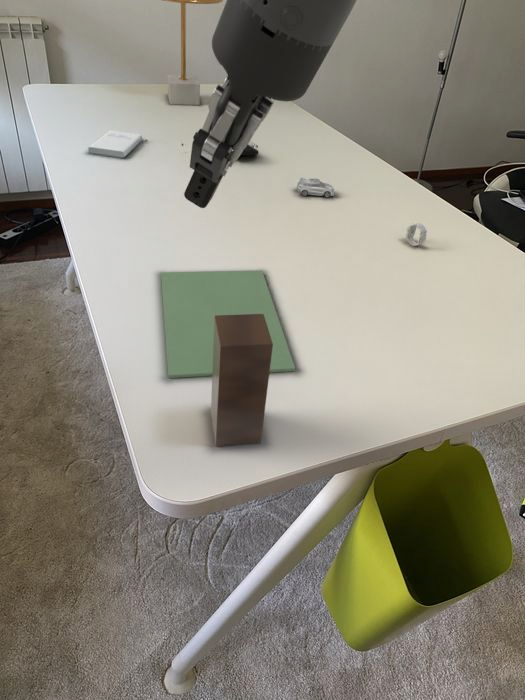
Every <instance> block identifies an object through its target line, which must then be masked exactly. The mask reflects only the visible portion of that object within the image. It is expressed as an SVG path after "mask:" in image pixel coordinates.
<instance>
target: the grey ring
mask: <svg viewBox="0 0 525 700" xmlns="http://www.w3.org/2000/svg"><path fill="white" fill-rule="evenodd" d="M417 229H418V230H419V236H418V240H417V242H416V241H415V239H414V236H415V235H416V231H417ZM427 232H428V231H427V229H426V226H425V225H424V224H422V223H420V222H418V223H417V222H416V223H412V224H410V225H408V226H407V228H406V232H405V238H406V239H407V242H408V243H409V245H411V246H413V247H415V246H416V247H417V246H420V245H422V244H424V242H425V241H426V239H427Z"/></svg>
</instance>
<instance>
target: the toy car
mask: <svg viewBox="0 0 525 700" xmlns="http://www.w3.org/2000/svg"><path fill="white" fill-rule="evenodd" d="M296 189H297V194H300V193H301V196H302V197H308V195H309V196H324V198H325V199H328V198H330V197H334V196H335V194H336V193H335V188H334V186H333V185H332V184H330V183H326V182H323V181H321V180H320V179H318V178H304V177H301V178H299V180H298V181H297V185H296Z"/></svg>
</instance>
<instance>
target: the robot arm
mask: <svg viewBox="0 0 525 700" xmlns="http://www.w3.org/2000/svg"><path fill="white" fill-rule="evenodd" d="M357 1H358V0H226V1H225V4H224V8H223V9H222V12H221V14H220V17H219V19H218V22H217V25H216V27H215V30H214V32H213V35H212V38H211V48H212V52H213V55H214V57H215V59H216V61H217V62H218V64H219V65H220V66H221V67H222V68H223V69H224V71H225V73H226V75H227V76H226V78H225V79H224V82H223V84H222V85H221V84H220V83H219V84H217V85H216V87H215V89H214V90H213V92H212V95H211V97H210V100H209V102H208V106H207V107H208V114H207V116H206V118H205V120H204V124H203V126H202V128H199V129H198V131H196V132H195V133H194V135H193V137H192V143H191V152H190V160H189V169H192V170H193V173H192V175H191V177H190V179H189V181H188V184H187V186H186V188H185V190H184V193H183V196H184V198H185V200H187V201H189V202H190V203H192V204H194V205H195V206H197V207H198V208H200V209H205V208H207V206H208V205H209V204H210V202H211V201H212V199H213V197H214V195H215V193H216V192H217V189H218V188H219V185H220V183H221V181H222V179H223V178H224V177H225V176H226V174H227V173H228V170H229V169H230V168H232V166H233V164H234V163H235V162H237V161H238V159H239V157H240V156H242V155H241V153H242V152H243V150H244V149H245V148H246V146H247V145H250V143H251V140H252V138H253V136H254V135H255V133H256V131H258V129H259V127H260V125H261V123H262V122H263V121H265V119H266V117H267V116H268V115H269V113H270V111H271V109H272V107H273V105H274V103H275V101H279V102H294V101H297V100H299V99H301V98H303V97H304V95H305V94H306V93H307V91H308V89H309V88H310V86H311V84H312V82H313V80H314V79H315V76H316V75H317V73H318V71H319V69H320V68H321V66H322V64H323V62H324V61H325V59H326V57H327V55H328V53H329V52H330V50H331V48H332V46H333V44H334V43H335V41H336V39H337V37H338V36H339V34H340V32H341V30H342V28H343V26H344V25H345V23H346V21H347V20H348V19H349V15H350V14H351V12H352V11H353V9H354V7H355V5H356V3H357Z"/></svg>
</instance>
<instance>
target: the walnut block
mask: <svg viewBox="0 0 525 700" xmlns="http://www.w3.org/2000/svg"><path fill="white" fill-rule="evenodd" d="M272 348H273V343H272V339H271V336H270V333H269V330H268V326H267V323H266V320H265V317H264V314H241V315H215V318H214V344H213V371H212V376H211V399H210V400H211V402H210V417H211V423H212V424H211V425H212V433H213V437H214V444H215V447H216V448H217V447H227V446H242V445H252V444H253V445H255V444H261V443H262V438H263V437H262V436H263V428H264V420H265V413H266V404H267V395H268V388H269V381H270V380H269V379H270V373H271V372H270V364H271V356H272Z"/></svg>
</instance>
